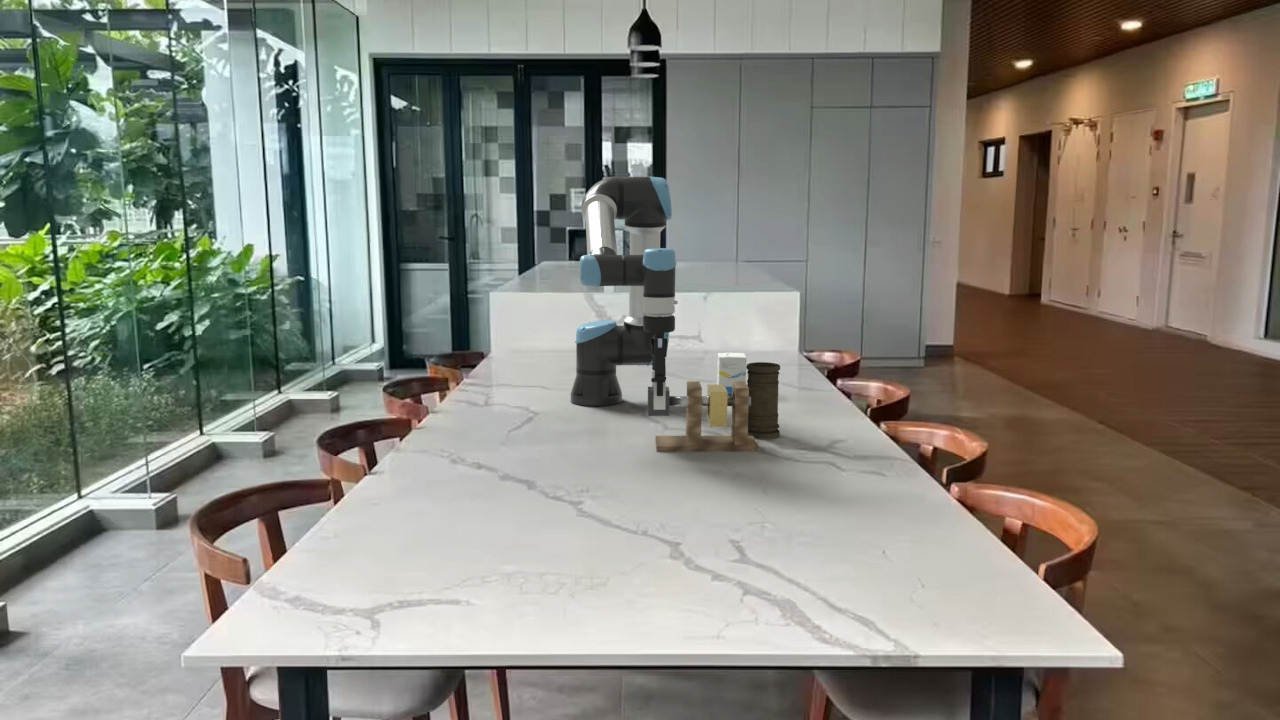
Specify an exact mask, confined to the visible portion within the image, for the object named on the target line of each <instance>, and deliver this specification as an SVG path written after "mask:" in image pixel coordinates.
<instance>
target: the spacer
mask: <svg viewBox="0 0 1280 720" xmlns="http://www.w3.org/2000/svg"><path fill="white" fill-rule="evenodd" d="M706 388H707V391H706V393H707V394H706V396H709V398H710V403H709V406H706V420H707V423H708V425H709V427H711V428H712V427H713V428H714V427H715V428H719V427H720V428H721V427H724V428H726V427H728V406H727V396H729V395H728V392H727V390H726V388H725V386H724V385H717V384H707V385H706Z"/></svg>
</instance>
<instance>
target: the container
mask: <svg viewBox="0 0 1280 720" xmlns="http://www.w3.org/2000/svg"><path fill="white" fill-rule="evenodd" d="M780 370H781V365H780V364H778V363H774V362H763V361H762V362H761V361H758V362H757V361H756V362H749V363H746V374H747V379H746V384H747V386H748V388H749V396H751V406H748V436H753V437H754V439H755V440H756V439H758V440H771V439H776V438H778V437H779V436H780V433H781V431H780V424H779V412H778V411H779V407H778V406H779V383H780V382H779V375H780Z"/></svg>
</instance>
